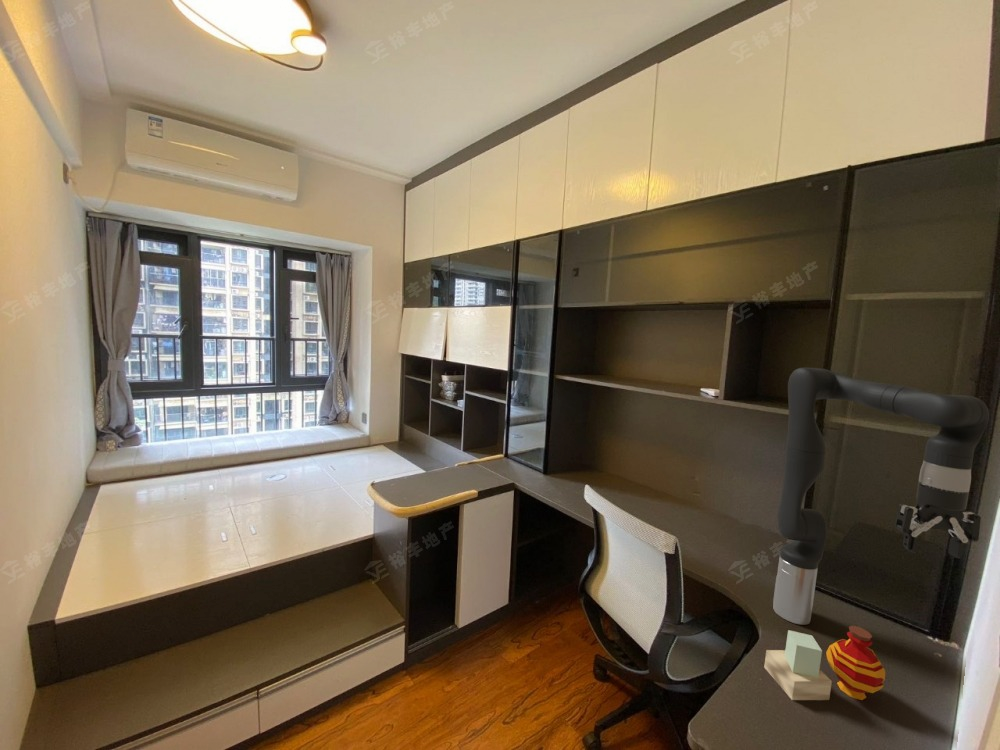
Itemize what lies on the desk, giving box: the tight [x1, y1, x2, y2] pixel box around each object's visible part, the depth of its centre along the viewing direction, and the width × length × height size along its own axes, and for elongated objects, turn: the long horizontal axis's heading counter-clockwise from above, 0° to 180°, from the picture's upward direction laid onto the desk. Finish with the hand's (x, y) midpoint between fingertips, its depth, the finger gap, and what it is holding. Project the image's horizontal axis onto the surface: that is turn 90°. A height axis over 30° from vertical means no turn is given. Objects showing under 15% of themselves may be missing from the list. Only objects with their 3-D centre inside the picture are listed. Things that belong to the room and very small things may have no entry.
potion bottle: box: [826, 625, 886, 701], centre depth 94 cm, size 10×10×15 cm
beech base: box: [763, 649, 833, 701], centre depth 96 cm, size 9×9×5 cm
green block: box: [784, 629, 823, 679], centre depth 95 cm, size 5×5×7 cm
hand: (931, 553), depth 89 cm, fingers open, 8 cm apart
